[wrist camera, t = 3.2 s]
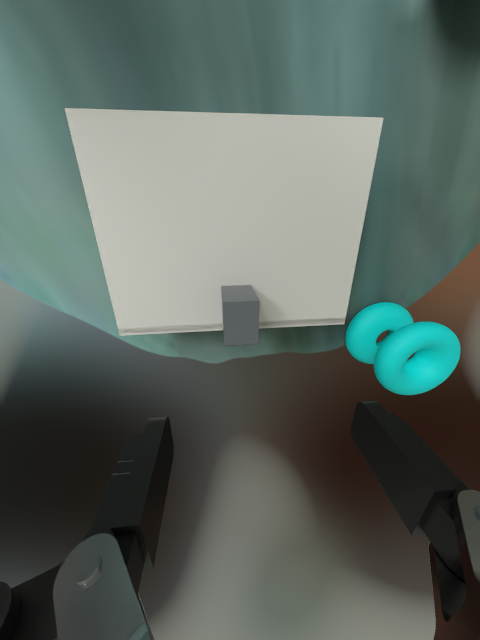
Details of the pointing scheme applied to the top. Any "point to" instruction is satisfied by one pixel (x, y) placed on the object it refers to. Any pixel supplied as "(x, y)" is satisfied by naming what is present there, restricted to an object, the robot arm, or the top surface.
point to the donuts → (402, 348)
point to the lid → (225, 216)
